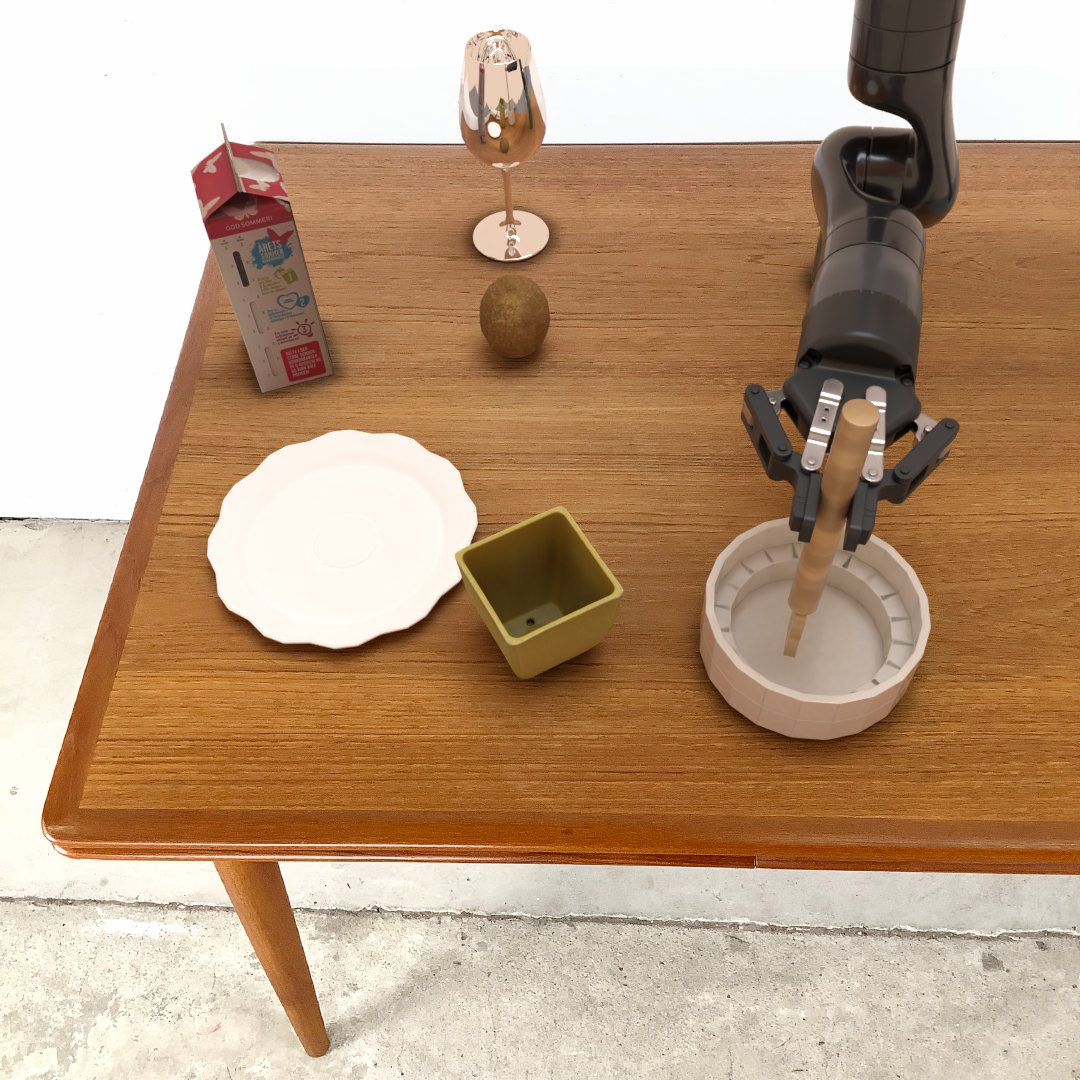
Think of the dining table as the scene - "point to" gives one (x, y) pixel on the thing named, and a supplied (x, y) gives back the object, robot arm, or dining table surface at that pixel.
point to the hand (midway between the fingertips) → (829, 538)
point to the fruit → (514, 316)
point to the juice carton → (262, 263)
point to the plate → (341, 538)
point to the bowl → (812, 634)
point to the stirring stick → (831, 512)
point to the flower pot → (541, 591)
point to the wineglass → (503, 132)
